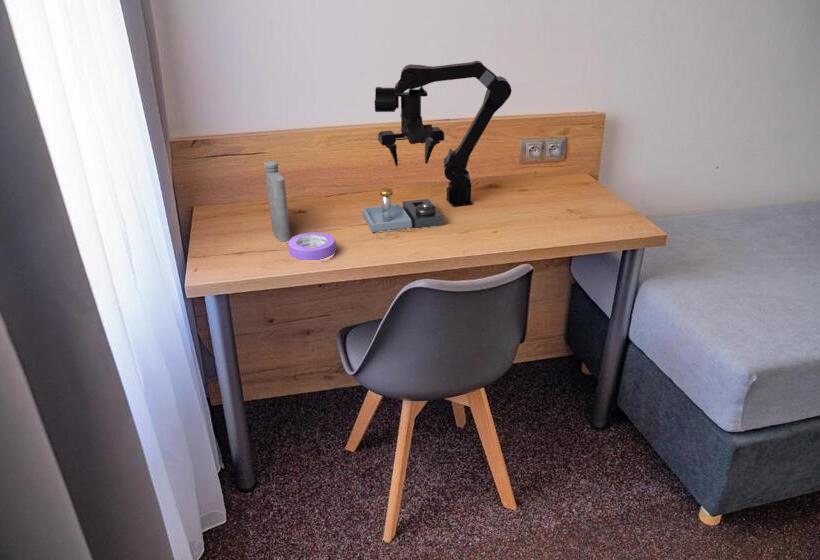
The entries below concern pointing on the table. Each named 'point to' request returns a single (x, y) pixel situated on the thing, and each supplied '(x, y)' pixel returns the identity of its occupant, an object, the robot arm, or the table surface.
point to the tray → (397, 222)
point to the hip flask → (277, 201)
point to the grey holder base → (423, 213)
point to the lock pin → (386, 204)
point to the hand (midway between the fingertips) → (411, 164)
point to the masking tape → (309, 239)
